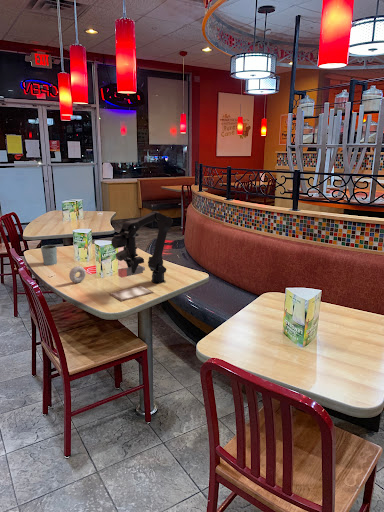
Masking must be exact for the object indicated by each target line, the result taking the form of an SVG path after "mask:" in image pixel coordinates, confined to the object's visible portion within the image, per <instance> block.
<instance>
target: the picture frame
mask: <svg viewBox="0 0 384 512" xmlns="http://www.w3.org/2000/svg"><path fill="white" fill-rule="evenodd" d="M154 293H155V292H154V291H152V290H150V289H148V288H147V287H145V286H143V285H138V286H135V287H130V288H127V289H122V290H119V291H114V292H110V293H109V295H110V296H112V297H114V298H115V299H116V300H117V301H119V302H124V301H129V300H132V299H135V298H139V297H144V296H146V295H151V294H154Z"/></svg>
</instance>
